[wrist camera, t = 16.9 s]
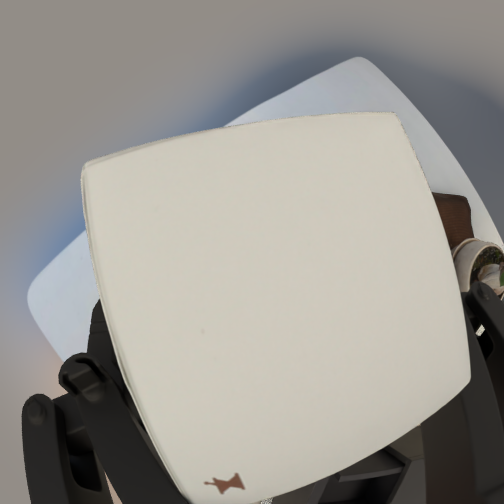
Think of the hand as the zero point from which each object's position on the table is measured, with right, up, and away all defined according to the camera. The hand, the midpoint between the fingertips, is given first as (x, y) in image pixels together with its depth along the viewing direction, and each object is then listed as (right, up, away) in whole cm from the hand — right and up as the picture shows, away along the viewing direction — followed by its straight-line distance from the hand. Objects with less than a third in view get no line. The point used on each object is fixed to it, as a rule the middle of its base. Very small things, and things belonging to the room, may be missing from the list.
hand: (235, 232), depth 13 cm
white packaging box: (0, -4, +4) cm, 6 cm away
